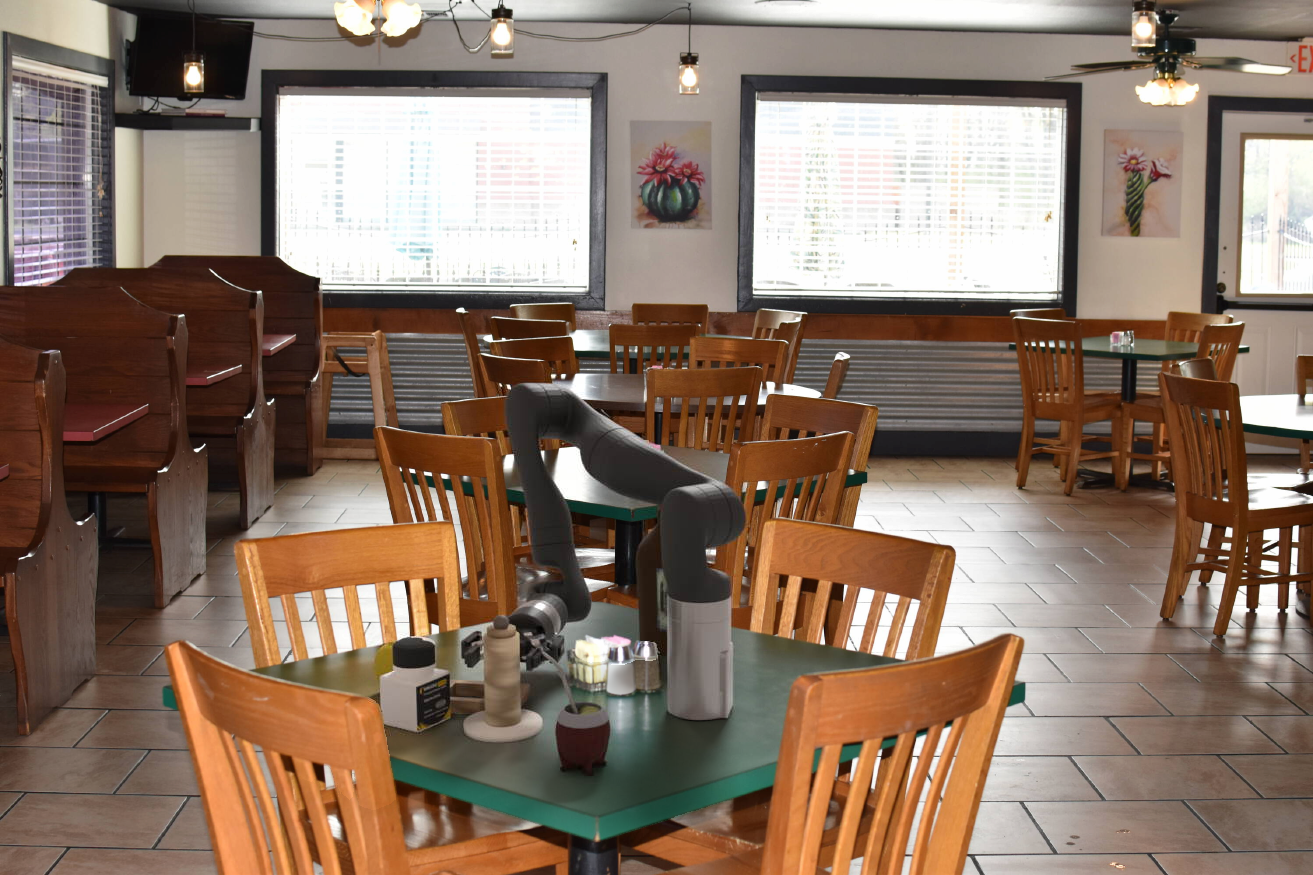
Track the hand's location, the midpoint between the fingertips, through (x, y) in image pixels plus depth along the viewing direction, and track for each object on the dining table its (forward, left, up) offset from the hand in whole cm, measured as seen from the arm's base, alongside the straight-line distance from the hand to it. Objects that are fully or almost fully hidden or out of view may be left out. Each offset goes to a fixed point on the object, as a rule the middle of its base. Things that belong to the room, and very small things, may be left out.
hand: (498, 662), depth 183 cm
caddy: (+7, -10, -10) cm, 16 cm away
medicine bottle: (+13, -2, -10) cm, 17 cm away
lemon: (+21, -13, -10) cm, 27 cm away
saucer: (0, -1, -10) cm, 10 cm away
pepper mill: (0, -2, -9) cm, 9 cm away
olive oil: (-16, -44, -10) cm, 47 cm away
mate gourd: (-14, +10, -10) cm, 20 cm away
